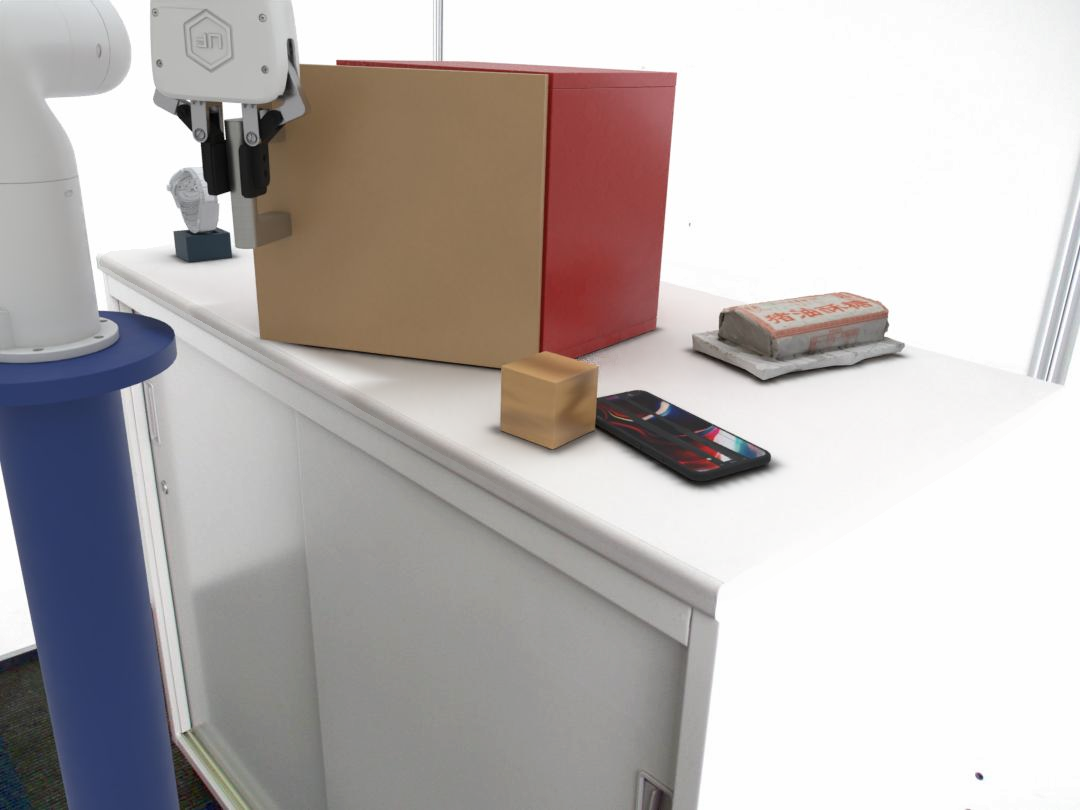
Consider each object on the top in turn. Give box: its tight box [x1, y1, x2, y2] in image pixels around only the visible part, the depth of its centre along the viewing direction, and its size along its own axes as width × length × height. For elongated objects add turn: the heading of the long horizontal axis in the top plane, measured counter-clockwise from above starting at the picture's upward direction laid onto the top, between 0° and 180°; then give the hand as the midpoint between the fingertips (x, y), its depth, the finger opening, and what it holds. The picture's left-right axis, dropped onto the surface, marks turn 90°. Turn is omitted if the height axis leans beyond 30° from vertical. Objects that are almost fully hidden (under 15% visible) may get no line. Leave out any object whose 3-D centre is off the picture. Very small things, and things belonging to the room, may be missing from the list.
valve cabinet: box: [335, 59, 678, 359], centre depth 90 cm, size 18×26×24 cm
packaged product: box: [691, 291, 906, 381], centre depth 87 cm, size 18×5×10 cm
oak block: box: [499, 351, 600, 450], centre depth 67 cm, size 5×5×5 cm
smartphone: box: [595, 389, 772, 482], centre depth 67 cm, size 7×1×15 cm
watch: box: [166, 166, 233, 263], centre depth 115 cm, size 6×8×11 cm
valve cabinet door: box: [223, 63, 549, 369], centre depth 76 cm, size 8×26×24 cm, turn 75°
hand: (238, 192), depth 74 cm, fingers closed, pressing on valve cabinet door
